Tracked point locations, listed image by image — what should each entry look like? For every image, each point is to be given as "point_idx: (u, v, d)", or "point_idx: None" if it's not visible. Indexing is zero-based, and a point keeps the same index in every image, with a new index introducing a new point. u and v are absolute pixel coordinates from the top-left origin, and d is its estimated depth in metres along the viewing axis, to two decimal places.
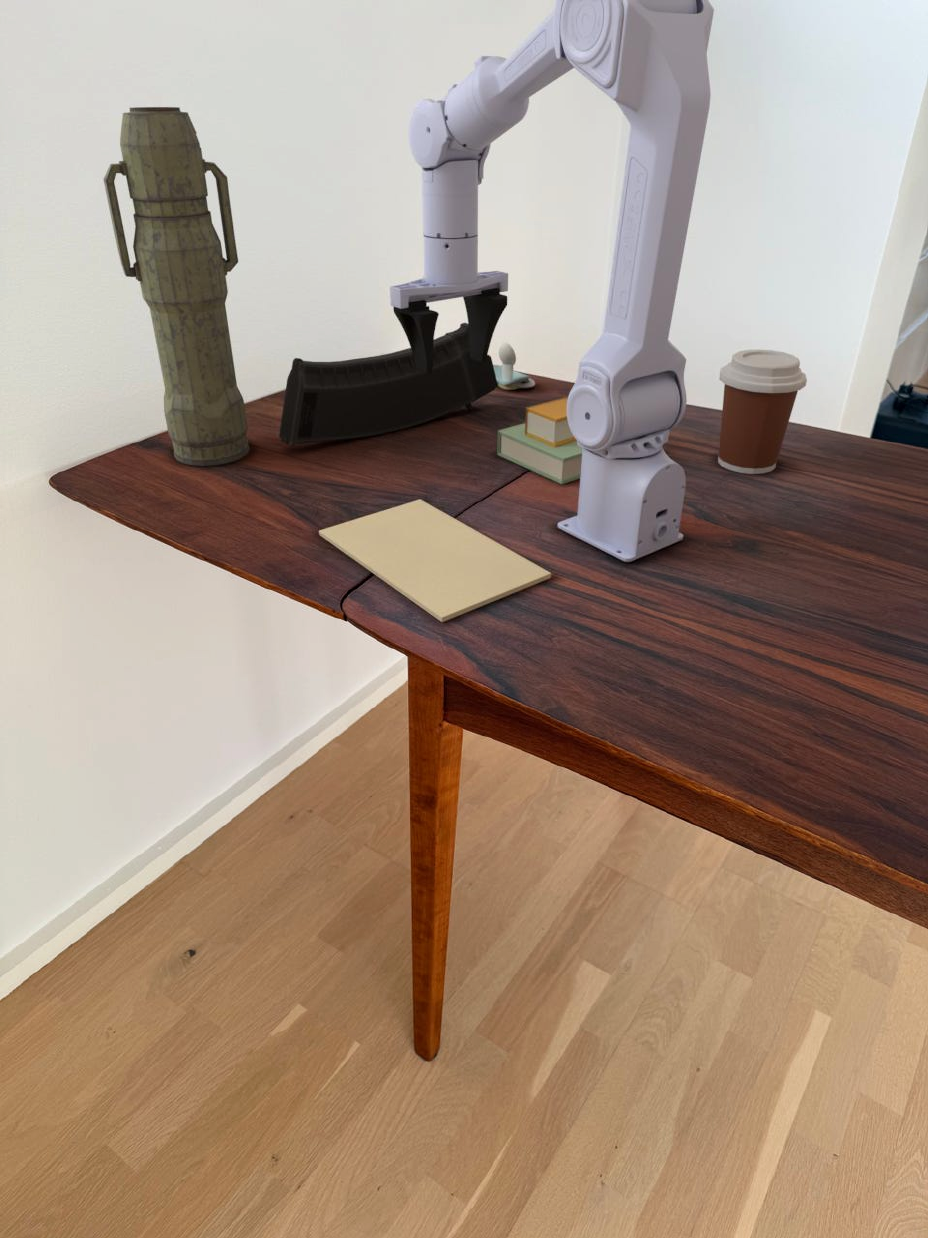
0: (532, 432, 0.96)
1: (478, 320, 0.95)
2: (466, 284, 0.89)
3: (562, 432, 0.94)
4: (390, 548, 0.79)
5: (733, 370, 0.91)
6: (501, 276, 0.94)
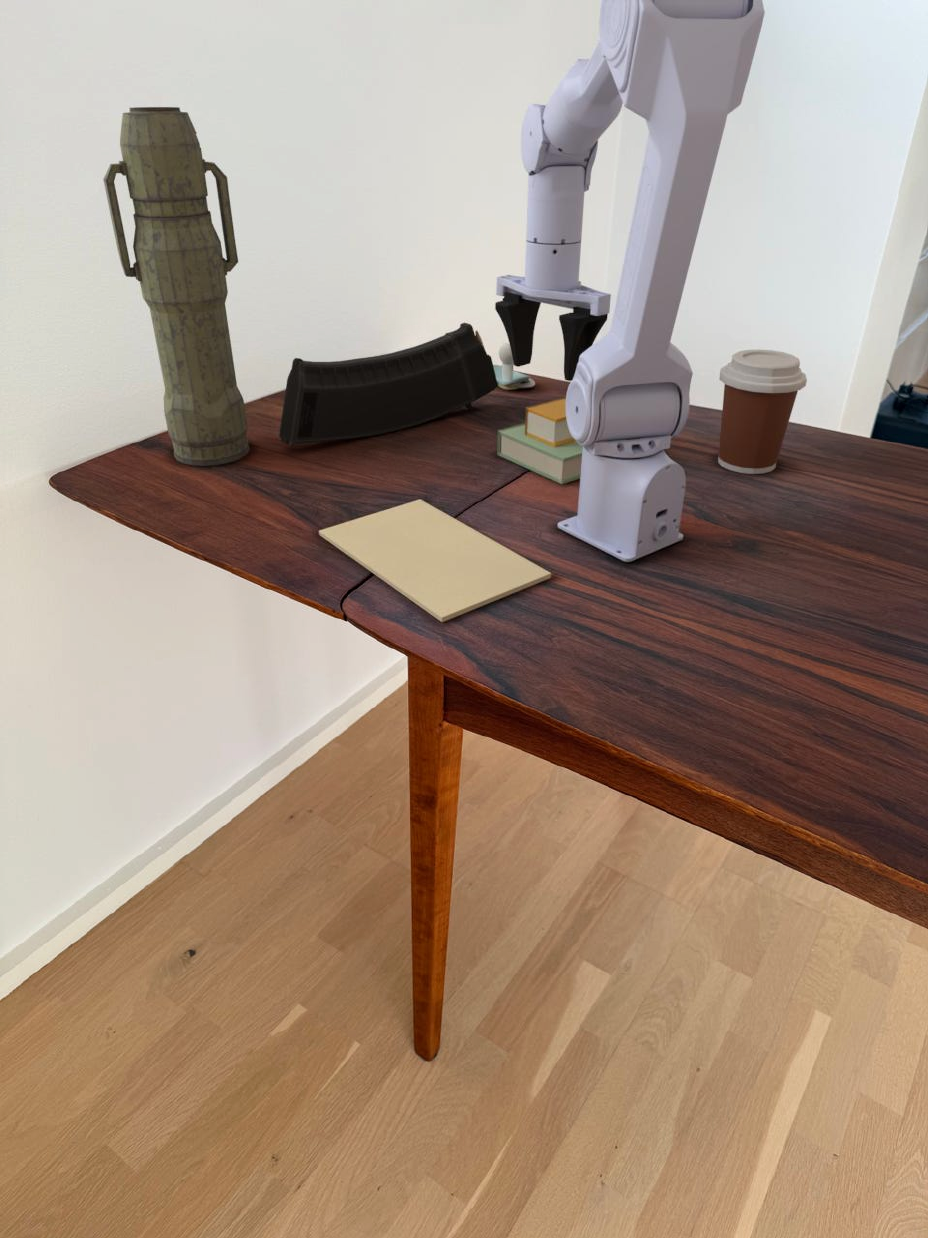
0: (532, 432, 0.96)
1: None
2: (531, 289, 0.89)
3: (562, 432, 0.94)
4: (390, 548, 0.79)
5: (733, 370, 0.91)
6: (589, 297, 0.86)
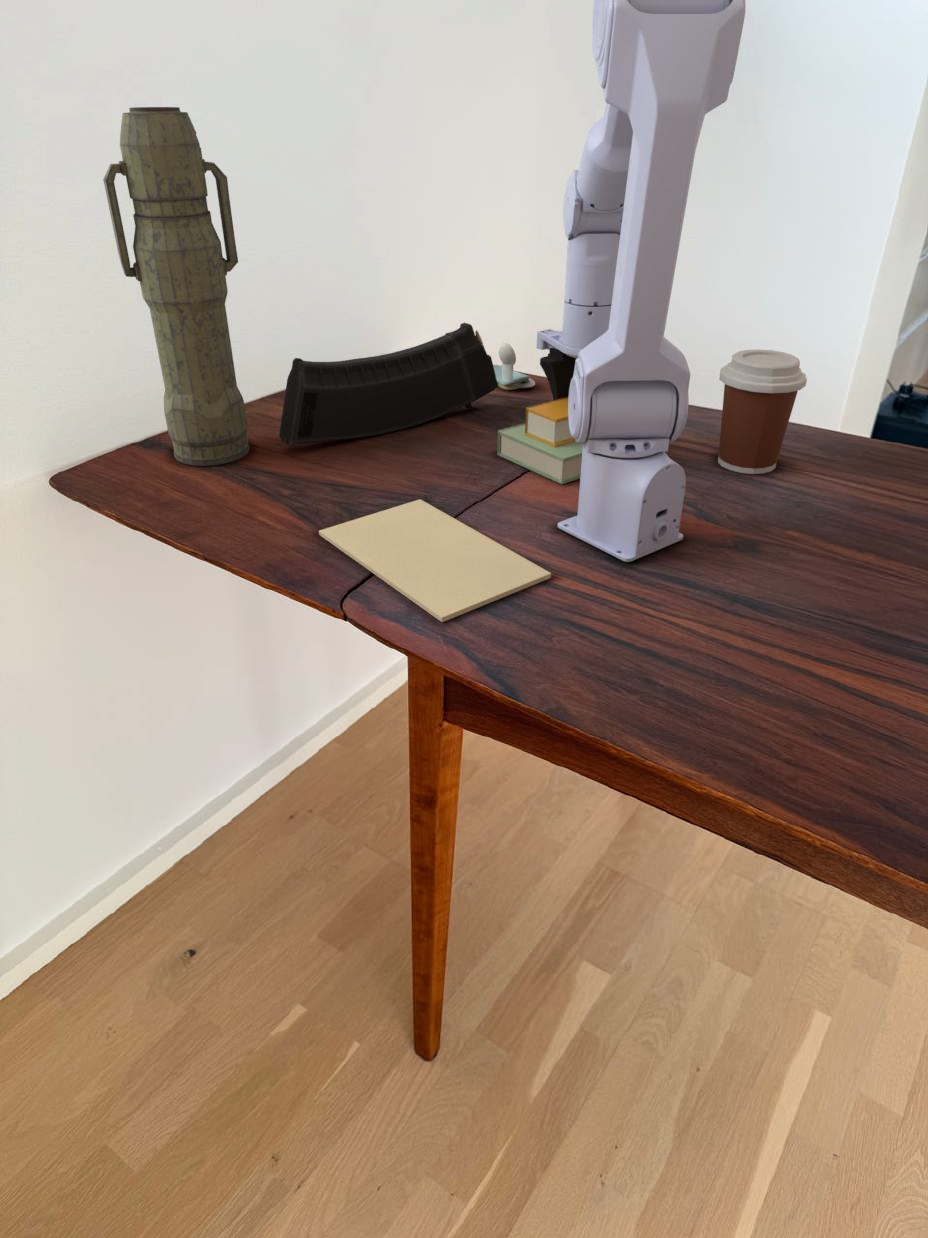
0: (532, 432, 0.96)
1: None
2: (567, 347, 0.92)
3: (562, 432, 0.94)
4: (390, 548, 0.79)
5: (733, 370, 0.91)
6: None
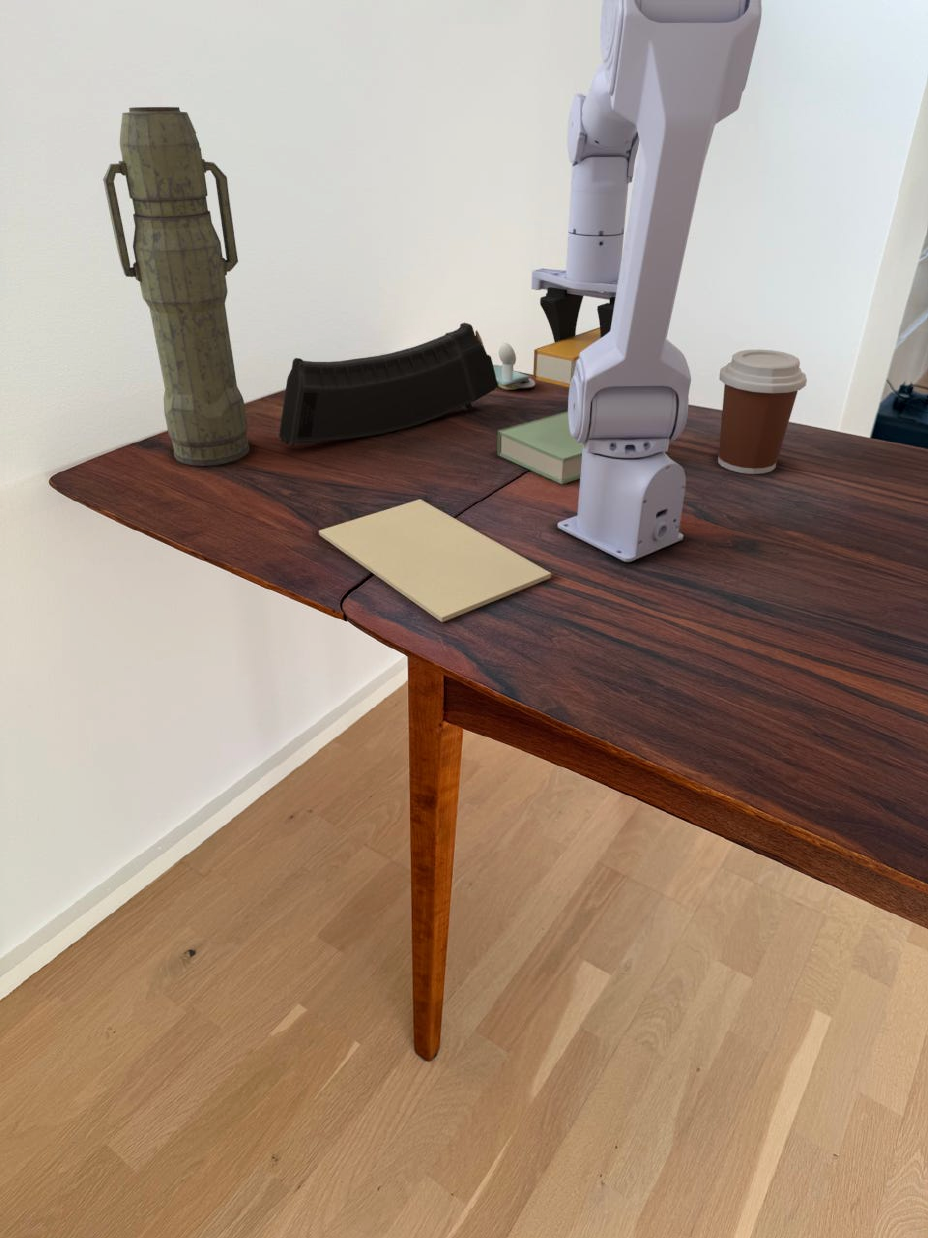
0: (542, 375, 0.91)
1: None
2: (575, 281, 0.88)
3: None
4: (390, 548, 0.79)
5: (733, 370, 0.91)
6: None
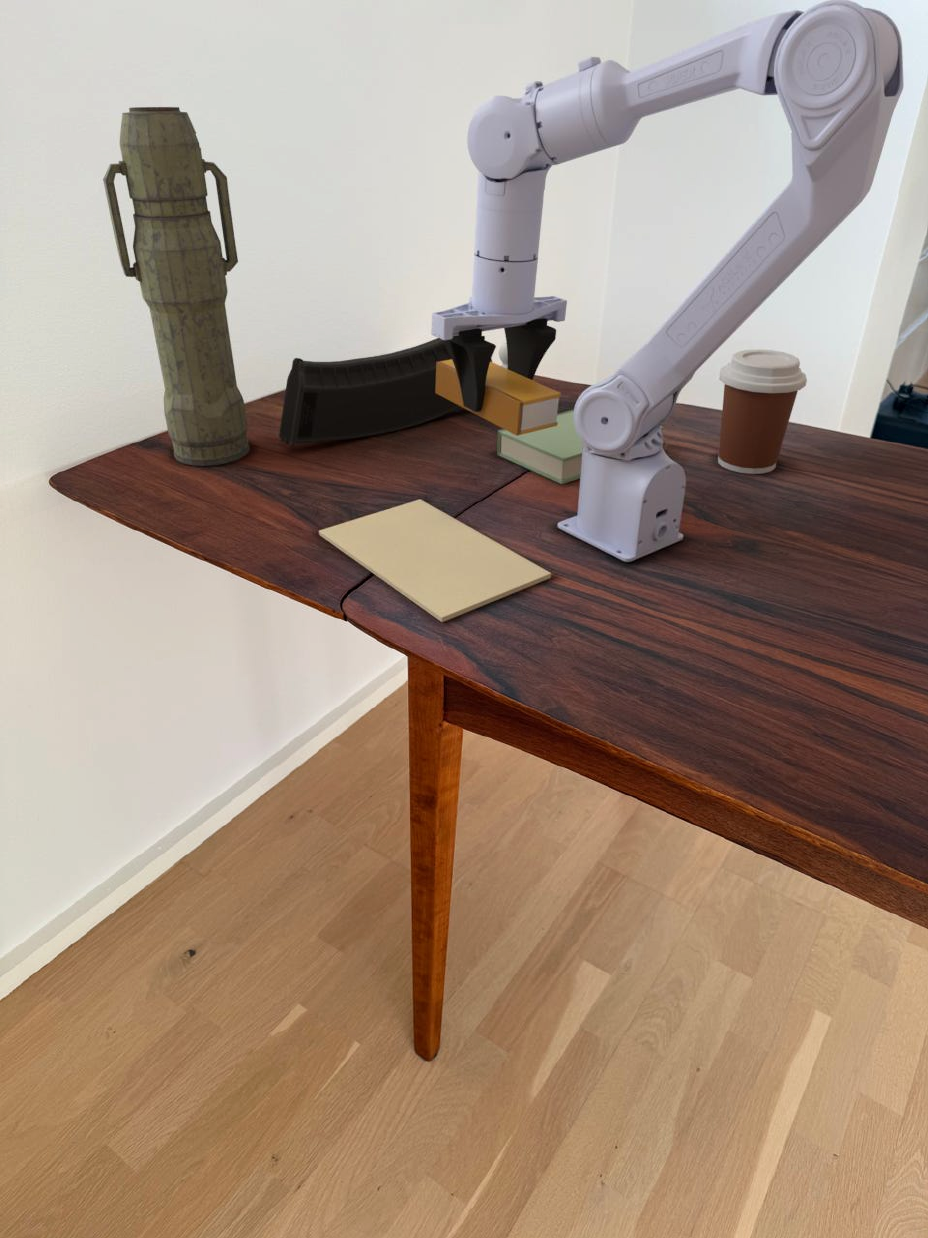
0: (528, 426, 0.78)
1: (520, 354, 0.82)
2: (521, 315, 0.76)
3: None
4: (390, 548, 0.79)
5: (733, 370, 0.91)
6: (559, 304, 0.81)
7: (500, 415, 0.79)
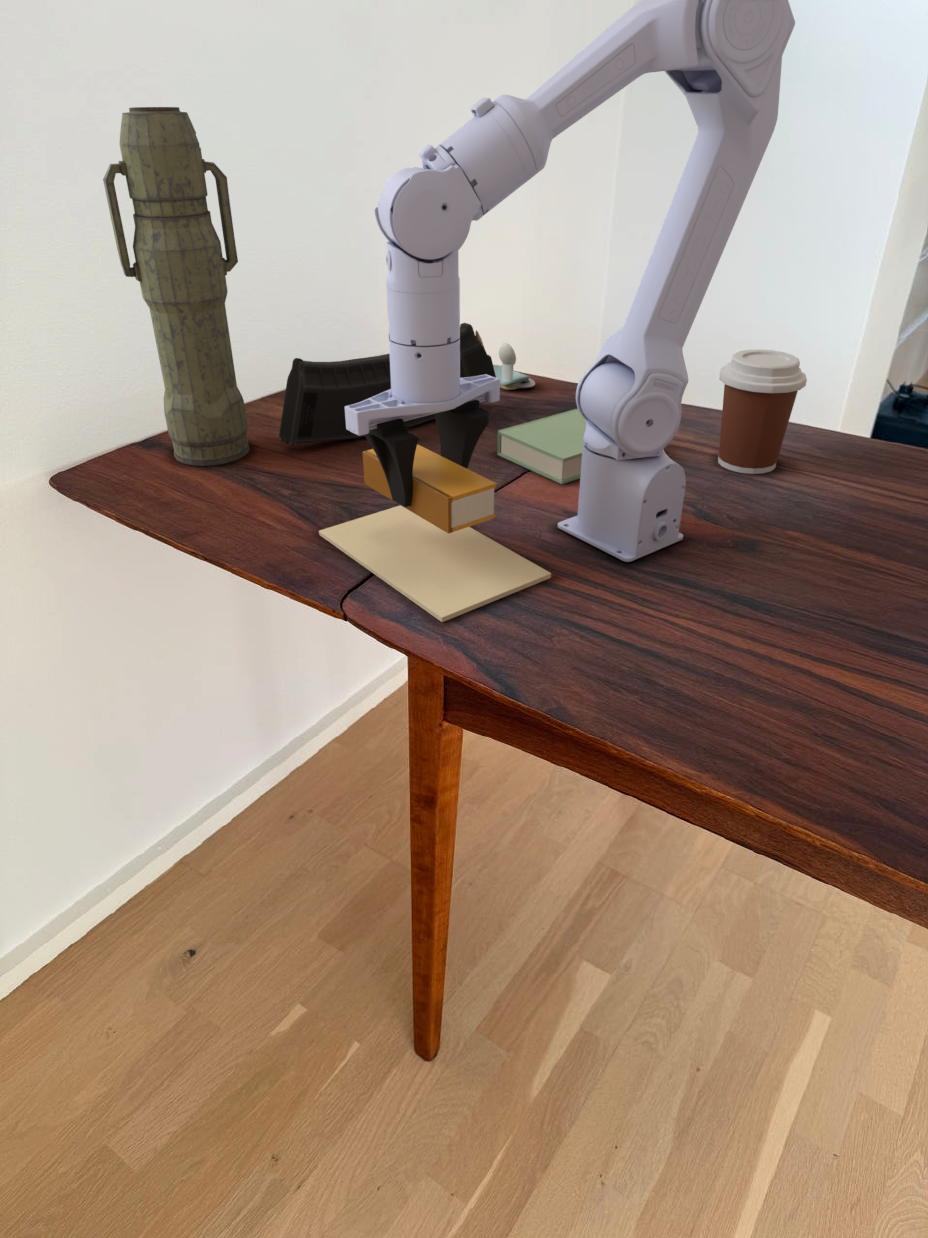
0: (461, 522, 0.70)
1: (452, 440, 0.74)
2: (445, 402, 0.68)
3: None
4: (390, 548, 0.79)
5: (733, 370, 0.91)
6: (491, 384, 0.73)
7: (430, 511, 0.71)
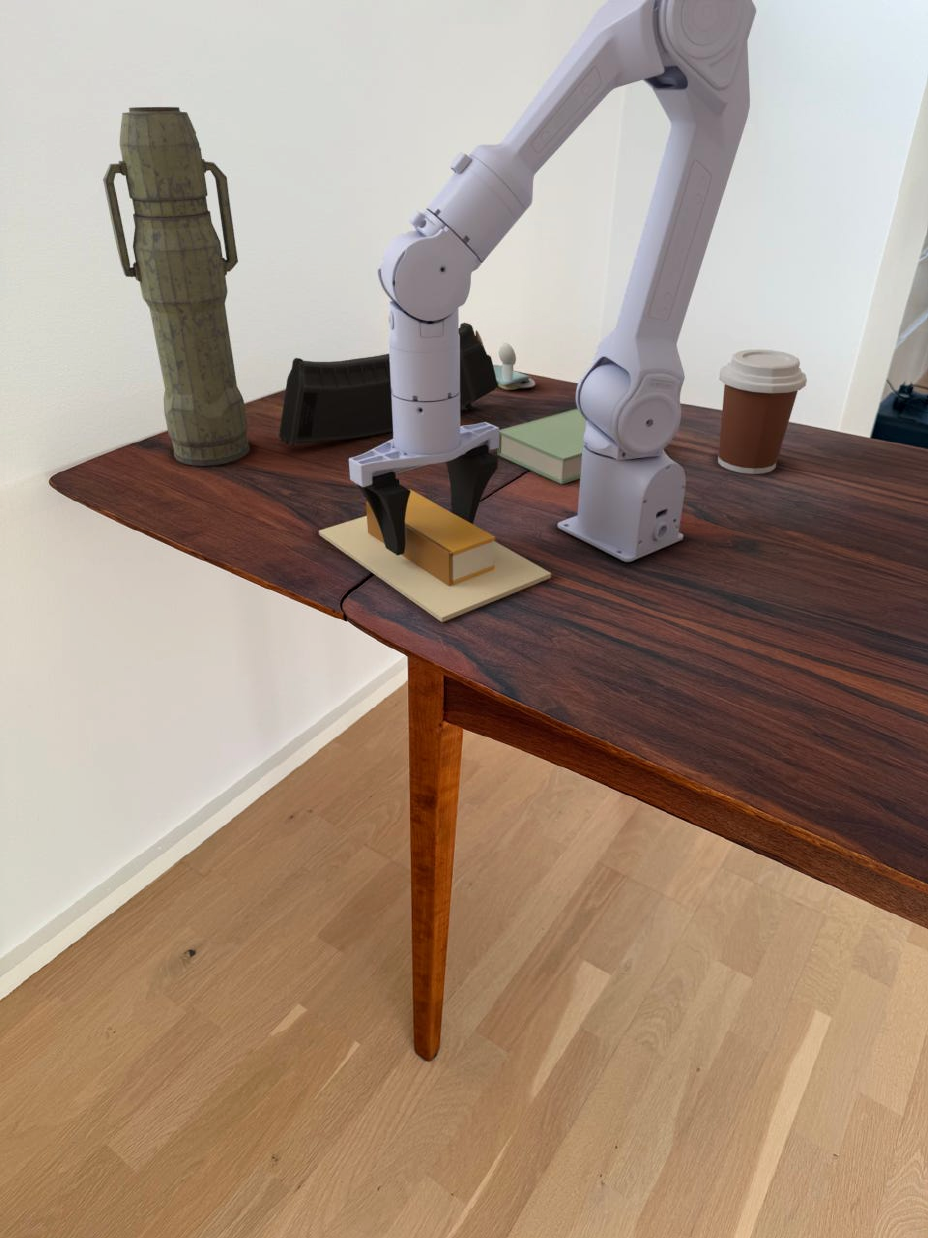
0: (461, 575, 0.73)
1: (462, 483, 0.77)
2: (445, 453, 0.71)
3: None
4: None
5: (733, 370, 0.91)
6: (490, 432, 0.75)
7: (431, 563, 0.74)
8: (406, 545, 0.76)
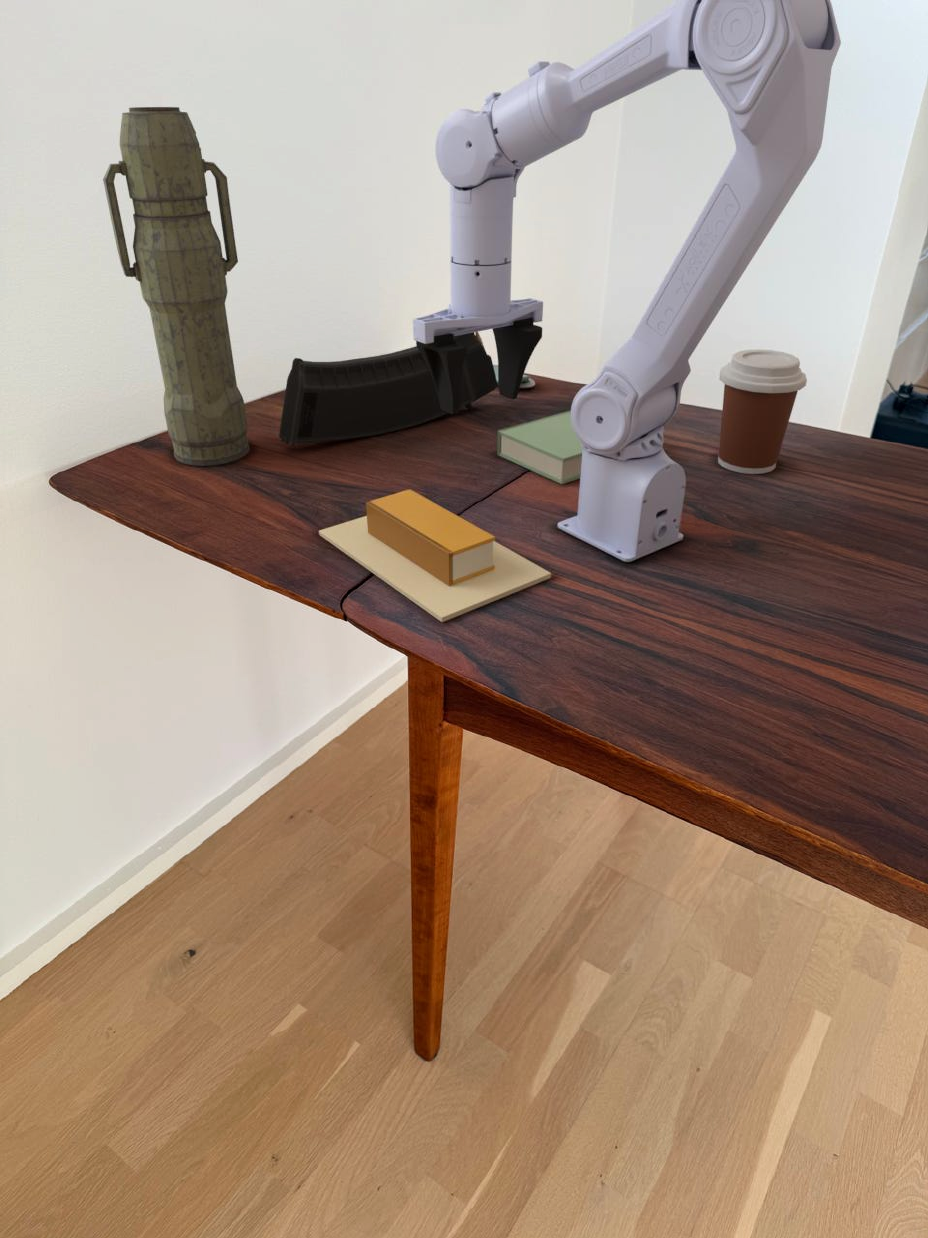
0: (461, 575, 0.73)
1: (509, 353, 0.86)
2: (498, 316, 0.79)
3: None
4: (390, 548, 0.79)
5: (733, 370, 0.91)
6: (535, 305, 0.84)
7: (431, 563, 0.74)
8: (406, 545, 0.76)
